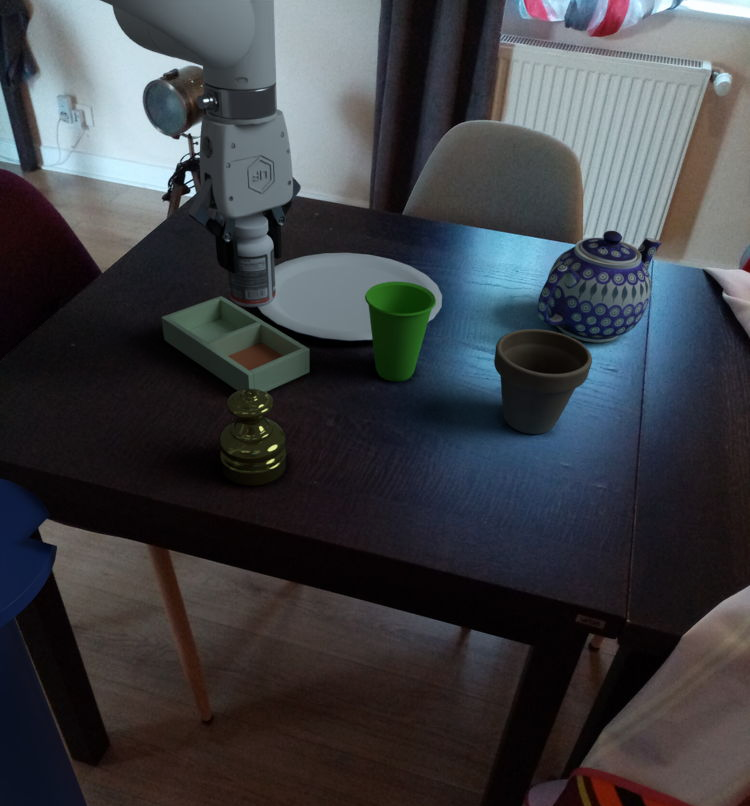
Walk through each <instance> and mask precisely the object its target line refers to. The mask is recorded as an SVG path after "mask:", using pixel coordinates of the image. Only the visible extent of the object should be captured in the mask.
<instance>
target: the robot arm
mask: <svg viewBox="0 0 750 806" xmlns="http://www.w3.org/2000/svg"><path fill="white" fill-rule="evenodd" d="M99 1H101V2H102V3H105V4H108V5H109V6H112V11H113V15H114V17H115V20H116V22H117V24H118V27H120V29H121V31H122V33H124V34H125V36H126V37H127V38H128V39H129V40H131V41H132V42H133V43H134V44H136V45H137V46H139V47H141V48H142V49H144V50H147V51H149V52H152V53H156V54H159V55H163V56H166V57H170V58H173V59H177V60H181V61H185V62H188V63H191V64H195V65H197V66H200V67H202V76H203V93H202V94H201V95H197V96H196V105H197V107H198V109H199V110H201V111H204V110H205V112H206V114H204V115H202V118H201V126H200V135H199V136H200V138H199V177H200V178H199V179H200V180H199V181H200V190H199V191H198V193H197V195H196V197H195V199H194V200H193V203H192V204H191V206H190V208H189V210H188V212H187V213H188V214H187V215H188V217H190V218H191V219H193V220H194V221H195V222H197V223H198V224H200V225H201V226H202V227H203V229H206V231H208V232H209V233H210V234H211V235H213V236H214V239H215V241H214V242H215V250H216V251H215V252H216V260H217V262H218V265H219V266H220V268H222V269H224V270H226V271H227V272H228V271H229V272H231V273H233V274H234V273H237V272H238V271H239V264H238V249H237V241H236V240H234V239H232V236H233V232H234V227H235V223H236V219H237V218H241V217H245V216H249V215H252V214H260V213H262V216H264V217H266V218H267V220H268V232H267V235H268V236H269V237H270V238H271V239H272V241H273V246H274V259H276V260H278V259H281V258H282V226H284V225H285V223H286V215H287V214H288V212H289V211H290V209H291V207H292V206H293V201H294V200H295V199H296V198H297V196H298V194H299V193H300V191H301V189H302V187H301V184H300V183H299V181H297V180H296V179H295V177H294V176H293V165H292V154H291V153H292V152H291V145H290V139H289V133H288V128H287V123H286V119H285V115H284V112H283V110H280V109H278V99H277V98H278V97H277V65H276V64H277V61H276V33H275V32H276V31H275V0H99ZM209 209H213V212H212V216H210V215H209V213H208V211H209Z"/></svg>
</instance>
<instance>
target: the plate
mask: <svg viewBox="0 0 750 806" xmlns="http://www.w3.org/2000/svg"><path fill="white" fill-rule="evenodd" d="M274 267H275V289H276V295H275V298H274V300H273V301H272V302H271V303H269V304H267V305H264V306H260V307H257V309H258V310H259V312H260V313H261V315H263V316H264V317H266V318H267V319H268V320H270V321H271V322H273V323H274V324H275V325H277V326H280V327H282V328H283V329H287V330H289V331H291V332H294V333H296V334H299V335H302V336H307V337H311V338H316V339H320V340H327V341H338V342H348V343H351V342H373V340H372V331H371V323H370V314H369V306H368V303H367V302H366V300H365V295H366V293H367V291H368V290H369V289H370V288H371V287H373V286H375V285H378V284H381V283H386V282H408V283H413V284H417V285H420V286H422V287H424V288H426V289H428V290H429V291H431V292H432V293H433V295H434V296H435V299H436V304H435V306H434V307H433V309H431V313H430V317H429V320H428V324H429V323H430V322H432V321H433V320H435V318H436V317H437V315H438V314H439V312H440V311H441V309H442V304H443V294H442V292H441V290H440V288H439V286H438V284H437V283H436V282H434V281H433V280H432V278H430V277H429V276H428V275H427V274H425V273H424V272H422V271H420V270H418V269H417V268H414V267H413V266H411V265H409V264H406V263H403V262H400V261H397V260H394V259H391V258H387V257H382V256H379V255H374V254H373V255H372V254H365V253H355V252H325V253H317V254H309V255H304V256H300V257H296V258H292V259H288V260H285V261H284V262H281V263H279V264H277V265H274Z"/></svg>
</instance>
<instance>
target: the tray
mask: <svg viewBox="0 0 750 806" xmlns="http://www.w3.org/2000/svg"><path fill="white" fill-rule="evenodd" d="M160 319H161V326H162V333H163V339H164V341H165V342H167V343H168V344H169V345H171V346H172V347H174V348H175V349H176V350H178V351H180V352H181V353H182V354H184V355H185V356H186V357H188V358H190V359H191V360H192V361H194V362H195V363H197V364H198V365H199V366H201V367H202V368H204V369H205V370H207V371H208V372H210V373H211V374H213V375H214V376H216V377H217V378H218V379H220V380H221V381H223V383H226V384H227V385H229V386H230V387H231V388H233V389H235V391H236V392H237V391H240V390H244V389H258V390H262V391H264V392H266V393H268V392H269V391H271V390H274V389H276V388H278V387H279V386H283V385H284V384H287V383H289V382H291V381H293V380H296V379H297V378H300V377H302V376H304V375H306V374H309V373H310V372H311V370H310V367H311V366H310V348H309V347H307V346H305V345H304V344H302V343H300V342H299V341H297V340H295V339H293V338H292V337H290V336H288V335H287V334H286V333H283V332H282V331H280V330H278V329H277V328H276V327H274V326H272V325H270V324H269V323H267V322H265V321H263V320H262V319H261V318H259V317H257V316H256V315H254V314H253V313H250V312H249V311H247V310H246V309H244V308H242V307H241V306H240V305H238V304H236V303H235V302H233V301H230V300H229V299H227V298H226V297H223V296H222V295H220V296H217V297H213V298H211V299H208V300H206V301H203V302H200V303H197V304H195V305H192V306H189V307H186V308H183V309H180V310H177V311H175V312H172V313H170V314H166V315H163V316H161V318H160Z"/></svg>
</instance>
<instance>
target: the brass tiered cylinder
mask: <svg viewBox="0 0 750 806" xmlns="http://www.w3.org/2000/svg"><path fill="white" fill-rule="evenodd" d="M226 408H227V411H228V412H229V413H230V414H231V415H233V416H235V417H236V419H234V420H233V421H230V422H229V423H228V424H226V425H225V426H224V427H223V428H222V429H221V430H220V432H219V435H218V446H219V449H220V451H219V458H220V462H221V463H220V464H221V470H222V474H224V476H225V477H226V478H227V479H228V480H230V481H232V483H235V484H238V485H242V486H248V487H249V486H250V487H254V486H255V487H256V486H263V485H266V484H269V483H272V482H274V481H276V480H277V479H278V478H280V477H281V476H282V475H283V473H284V472H285V470H286V468H287V448H286V441H287V436H286V432H285V431H284V428H283V427H282V426H281V425H280V424H279V423H278V422H276V421H274V420H272V419H270V418H267V417H265V416H267V415H268V414H269V413H270V412H272V410H273V408H274V399H273V397H272V395H270V393H268V392H264V391H262V390H258V389H244V390H240V391H237V390H236V391H235V392H233V393H232V394H231V395H229V397H228V398H227V400H226Z"/></svg>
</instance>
